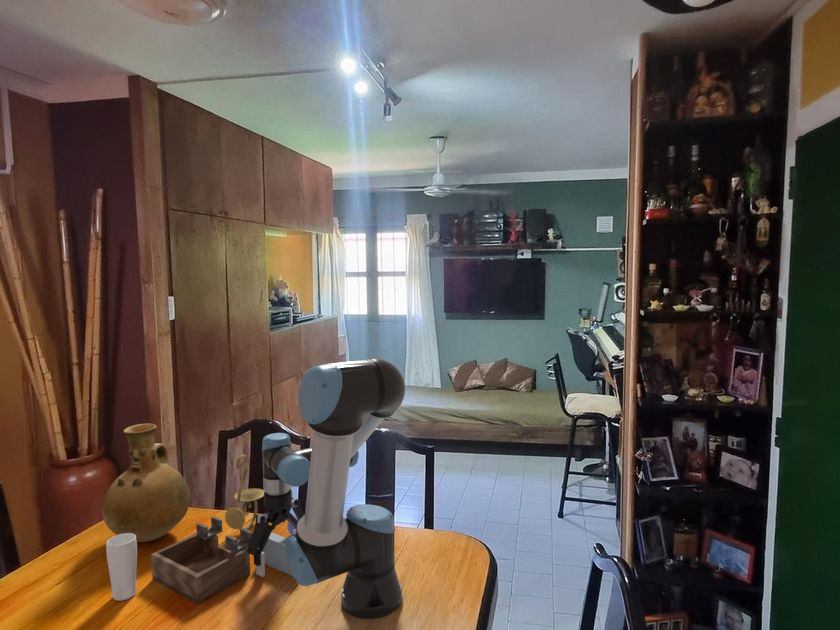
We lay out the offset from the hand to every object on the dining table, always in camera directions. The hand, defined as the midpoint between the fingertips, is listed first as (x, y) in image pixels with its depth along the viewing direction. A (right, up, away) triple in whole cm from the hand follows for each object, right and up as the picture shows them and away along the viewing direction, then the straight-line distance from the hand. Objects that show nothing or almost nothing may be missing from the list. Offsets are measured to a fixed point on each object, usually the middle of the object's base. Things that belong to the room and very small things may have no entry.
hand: (280, 563), depth 151 cm
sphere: (+2, +1, +17) cm, 17 cm away
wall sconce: (-16, +1, +21) cm, 27 cm away
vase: (-44, 0, +16) cm, 47 cm away
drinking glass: (-36, -2, -13) cm, 39 cm away
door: (0, -1, 0) cm, 1 cm away
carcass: (-19, -1, -4) cm, 20 cm away
